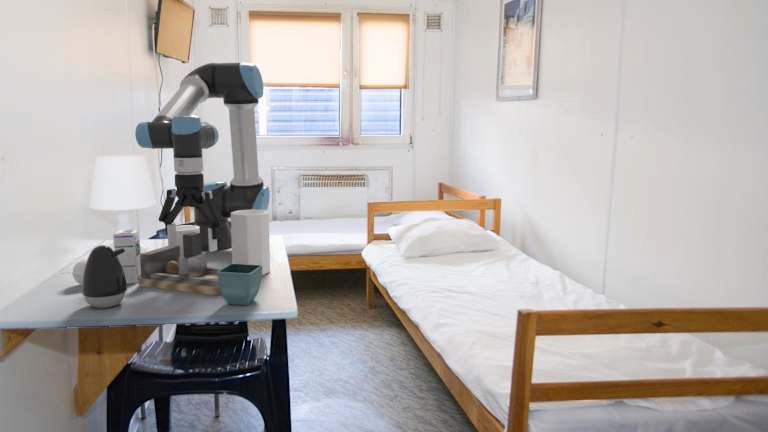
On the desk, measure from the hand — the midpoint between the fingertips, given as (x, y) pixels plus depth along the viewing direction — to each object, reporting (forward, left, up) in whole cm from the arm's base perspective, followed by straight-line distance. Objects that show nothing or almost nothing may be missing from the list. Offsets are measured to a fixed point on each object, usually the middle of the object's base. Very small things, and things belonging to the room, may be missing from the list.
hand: (192, 248), depth 171 cm
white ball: (+12, -28, -10) cm, 32 cm away
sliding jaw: (0, 0, -8) cm, 8 cm away
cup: (-17, +8, -10) cm, 21 cm away
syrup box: (+4, -19, -10) cm, 22 cm away
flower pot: (+10, +22, -10) cm, 26 cm away
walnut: (0, -7, -6) cm, 9 cm away
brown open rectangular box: (0, 0, -10) cm, 10 cm away
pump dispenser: (+24, -8, -10) cm, 27 cm away
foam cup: (-13, -13, -10) cm, 21 cm away
